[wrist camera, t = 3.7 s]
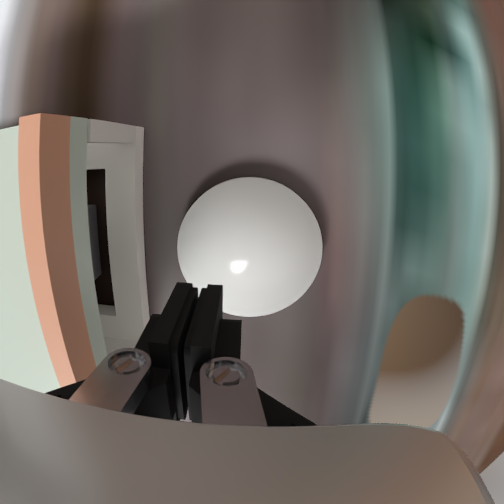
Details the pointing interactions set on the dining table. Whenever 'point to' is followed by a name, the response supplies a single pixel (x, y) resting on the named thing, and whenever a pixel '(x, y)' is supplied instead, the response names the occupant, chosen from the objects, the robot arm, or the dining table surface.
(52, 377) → the cover
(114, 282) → the frame with rectangular opening
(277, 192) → the white flat disc
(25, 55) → the dining table surface
